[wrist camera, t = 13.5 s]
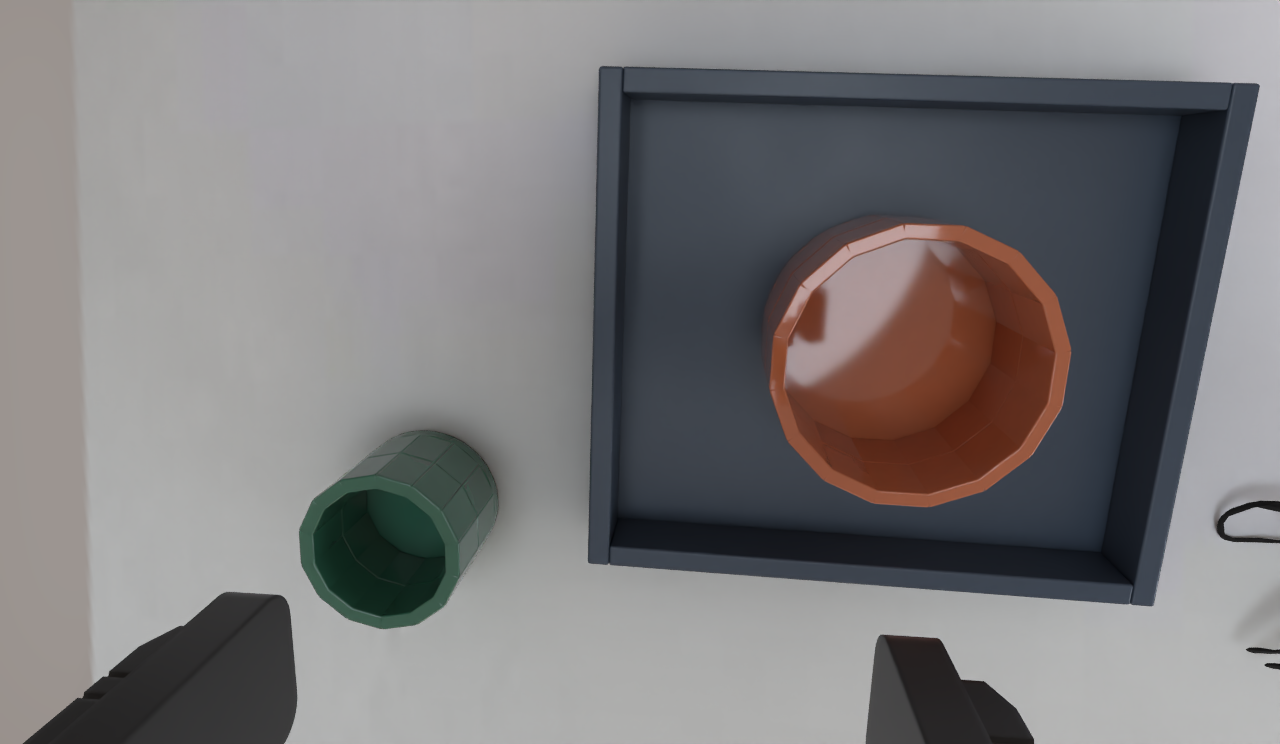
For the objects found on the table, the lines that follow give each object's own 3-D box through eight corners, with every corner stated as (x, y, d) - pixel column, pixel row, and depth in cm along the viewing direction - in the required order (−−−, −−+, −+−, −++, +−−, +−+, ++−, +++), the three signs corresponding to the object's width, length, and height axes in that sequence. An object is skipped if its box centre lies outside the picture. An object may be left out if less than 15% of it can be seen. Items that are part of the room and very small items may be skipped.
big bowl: (753, 437, 24) (761, 496, 19) (769, 209, 22) (782, 218, 18) (984, 452, 23) (1045, 516, 19) (1017, 218, 22) (1091, 230, 17)
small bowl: (364, 557, 26) (304, 623, 23) (358, 424, 25) (293, 469, 22) (498, 567, 26) (460, 636, 22) (497, 433, 25) (458, 480, 21)
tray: (599, 527, 25) (587, 564, 23) (611, 77, 22) (598, 65, 20) (1110, 564, 24) (1154, 607, 22) (1199, 93, 21) (1261, 83, 19)
